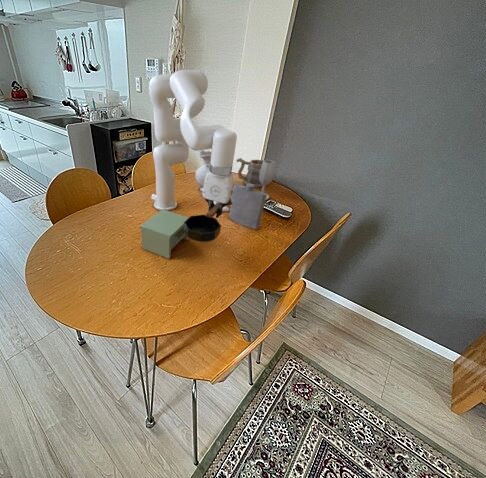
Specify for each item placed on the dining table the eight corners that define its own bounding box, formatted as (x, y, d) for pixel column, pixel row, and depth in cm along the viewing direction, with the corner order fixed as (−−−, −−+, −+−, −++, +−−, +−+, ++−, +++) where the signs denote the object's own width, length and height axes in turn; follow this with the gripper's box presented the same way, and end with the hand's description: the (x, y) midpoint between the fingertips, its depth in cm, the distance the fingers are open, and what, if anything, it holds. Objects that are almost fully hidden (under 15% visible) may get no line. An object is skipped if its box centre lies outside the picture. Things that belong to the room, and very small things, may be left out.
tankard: (265, 181, 169) (271, 159, 160) (262, 188, 159) (268, 165, 151) (235, 176, 175) (239, 154, 167) (231, 183, 166) (234, 160, 157)
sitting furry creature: (229, 211, 134) (232, 190, 127) (215, 214, 131) (217, 193, 125) (220, 204, 141) (223, 183, 134) (206, 206, 139) (208, 185, 132)
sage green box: (141, 248, 107) (139, 225, 101) (162, 230, 118) (161, 209, 112) (170, 259, 101) (170, 236, 95) (189, 239, 113) (190, 217, 106)
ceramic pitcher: (212, 182, 169) (213, 142, 156) (236, 189, 157) (240, 147, 144) (189, 191, 157) (188, 149, 144) (213, 199, 145) (215, 154, 132)
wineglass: (271, 196, 150) (279, 160, 138) (266, 202, 144) (275, 165, 132) (256, 193, 154) (263, 158, 142) (251, 198, 148) (258, 162, 136)
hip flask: (259, 227, 122) (269, 188, 110) (255, 231, 119) (264, 191, 108) (231, 216, 131) (237, 178, 119) (227, 218, 128) (232, 180, 117)
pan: (178, 235, 90) (179, 223, 87) (204, 209, 105) (205, 199, 103) (210, 245, 85) (211, 234, 83) (232, 217, 101) (234, 207, 98)
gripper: (195, 167, 89) (191, 213, 100) (239, 177, 83) (230, 225, 94) (204, 161, 95) (200, 206, 105) (246, 170, 88) (237, 216, 99)
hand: (214, 214), depth 99 cm, fingers closed on pan
